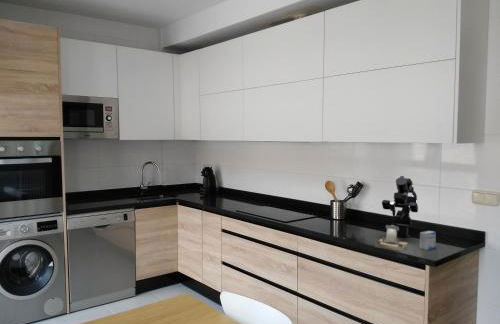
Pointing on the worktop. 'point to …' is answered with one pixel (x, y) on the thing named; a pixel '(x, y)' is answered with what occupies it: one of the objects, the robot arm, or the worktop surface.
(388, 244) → the tribrach base
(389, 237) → the white plastic container
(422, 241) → the medicine box
